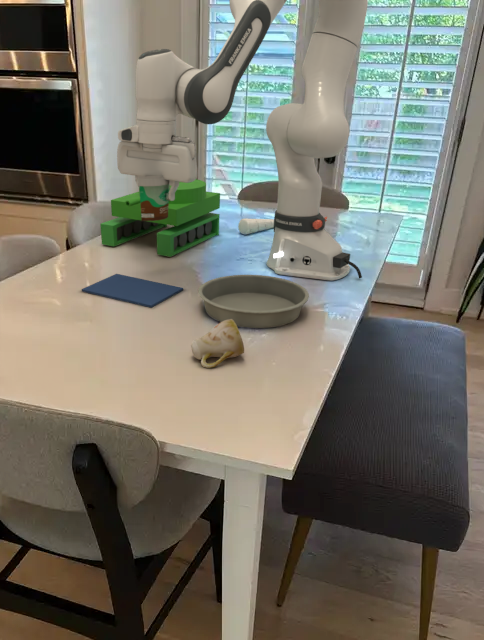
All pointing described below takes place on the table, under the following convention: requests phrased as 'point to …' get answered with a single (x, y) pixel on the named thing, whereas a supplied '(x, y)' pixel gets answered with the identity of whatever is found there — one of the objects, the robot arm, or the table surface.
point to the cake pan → (253, 300)
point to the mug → (219, 343)
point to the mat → (133, 290)
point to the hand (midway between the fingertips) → (157, 198)
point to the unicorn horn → (254, 225)
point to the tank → (183, 215)
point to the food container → (153, 197)
